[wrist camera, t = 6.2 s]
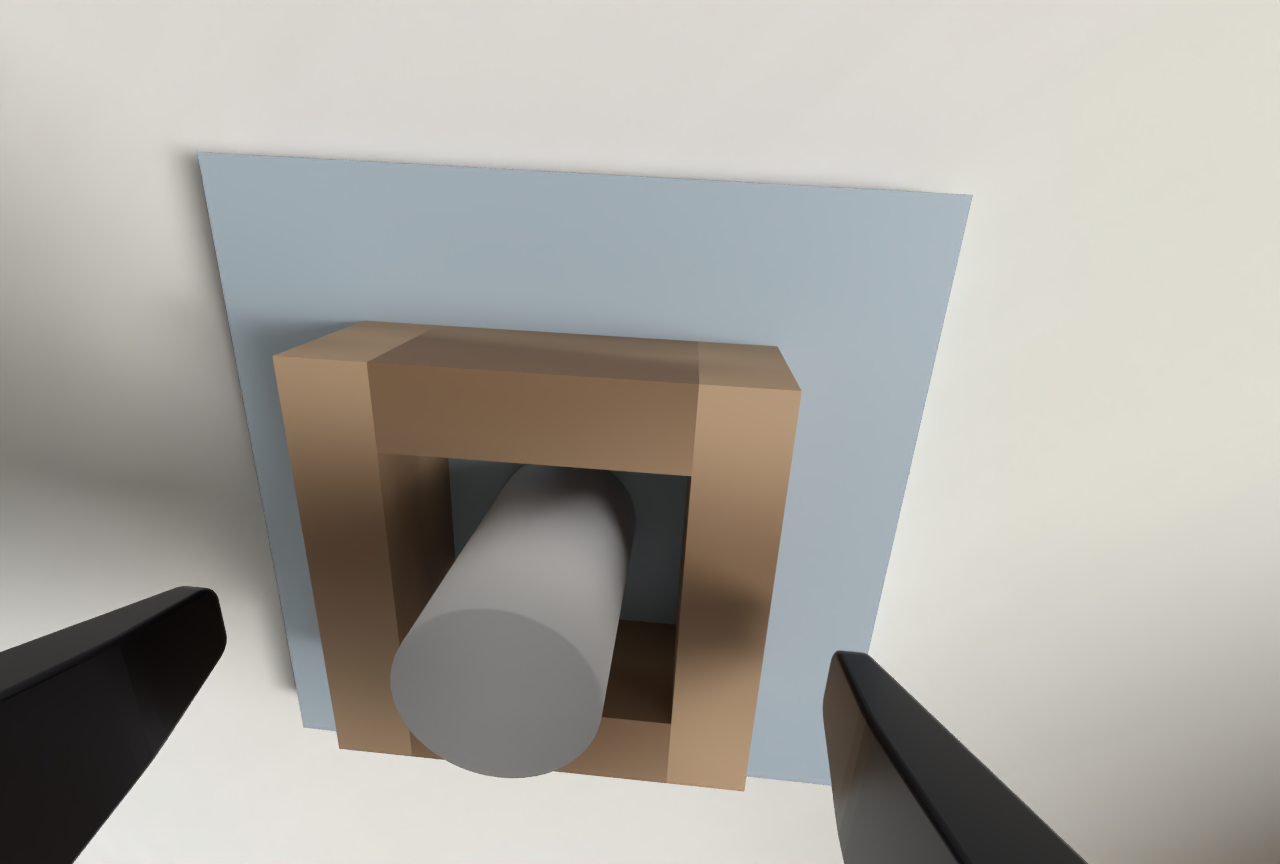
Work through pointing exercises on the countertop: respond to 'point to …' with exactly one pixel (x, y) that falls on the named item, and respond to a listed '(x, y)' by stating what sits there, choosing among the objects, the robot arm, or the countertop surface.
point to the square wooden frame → (556, 436)
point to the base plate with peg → (580, 497)
